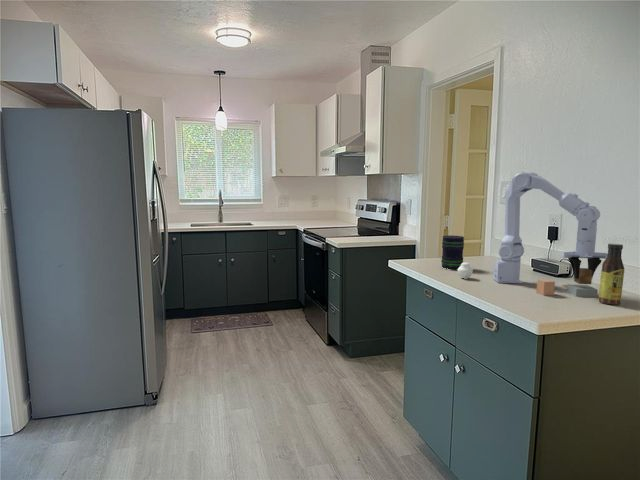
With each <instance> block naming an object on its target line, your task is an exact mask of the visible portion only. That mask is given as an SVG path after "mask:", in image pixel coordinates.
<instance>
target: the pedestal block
mask: <svg viewBox="0 0 640 480" xmlns="http://www.w3.org/2000/svg"><path fill="white" fill-rule="evenodd" d="M566 285H567V288H566V292H567V293H568V294H570V295H573V296H575V297H580V298H581V297H583V298H586V297H588V298H598V293H599V289H598V288H595V287H593V286H591V285H590V284H570V283H569V284H566Z"/></svg>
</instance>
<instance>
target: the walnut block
mask: <svg viewBox="0 0 640 480" xmlns="http://www.w3.org/2000/svg"><path fill="white" fill-rule="evenodd" d="M573 278H574V279H573V282H575V283H577V285H592V280H593V277H592V270H590V269H588V267H580V269H579V277H578V278H575V277H574V276H573Z"/></svg>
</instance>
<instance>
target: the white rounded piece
mask: <svg viewBox="0 0 640 480" xmlns="http://www.w3.org/2000/svg"><path fill="white" fill-rule="evenodd" d="M473 272H474V269H473V268H472V267H471V265H470V263H469V262H466V261H465V262H464V261H463V263H462V264H461V266H460V267H459V268H458V270H457V273H458V276H459V277H460V279H461V278H464V279H463V280H468V278H469V279H470V278H471V276H472V274H473Z"/></svg>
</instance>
